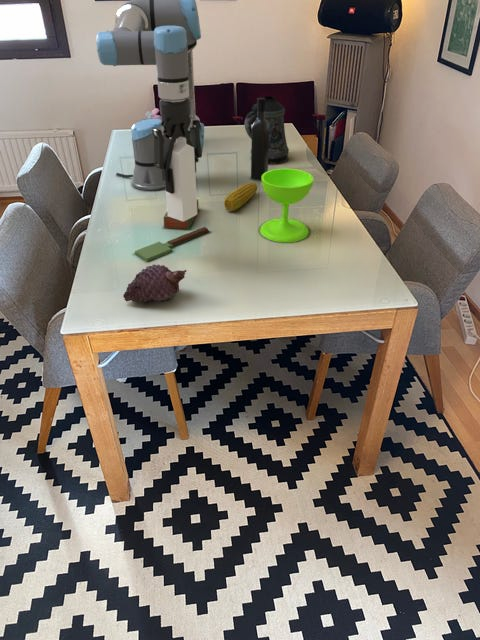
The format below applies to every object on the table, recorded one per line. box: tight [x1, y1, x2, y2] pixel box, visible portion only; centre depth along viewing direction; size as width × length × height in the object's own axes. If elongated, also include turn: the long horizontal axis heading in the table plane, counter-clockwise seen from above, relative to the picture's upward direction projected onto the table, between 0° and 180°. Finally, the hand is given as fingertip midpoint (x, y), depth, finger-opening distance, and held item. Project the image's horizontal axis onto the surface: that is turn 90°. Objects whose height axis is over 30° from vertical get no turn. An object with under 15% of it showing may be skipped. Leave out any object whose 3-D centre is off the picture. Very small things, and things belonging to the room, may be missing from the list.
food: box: [223, 182, 258, 212], centre depth 185 cm, size 21×6×6 cm, turn 155°
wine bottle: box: [250, 97, 269, 181], centre depth 197 cm, size 6×6×30 cm
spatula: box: [134, 226, 209, 263], centre depth 161 cm, size 26×6×1 cm, turn 133°
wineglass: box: [259, 167, 314, 243], centre depth 163 cm, size 16×16×18 cm
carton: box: [163, 198, 199, 230], centre depth 174 cm, size 8×16×4 cm, turn 171°
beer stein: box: [244, 96, 290, 165], centre depth 216 cm, size 16×19×25 cm
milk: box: [164, 137, 198, 222], centre depth 138 cm, size 6×6×22 cm
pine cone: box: [122, 263, 187, 303], centre depth 134 cm, size 18×10×10 cm
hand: (180, 188), depth 140 cm, fingers closed on milk, 7 cm apart
